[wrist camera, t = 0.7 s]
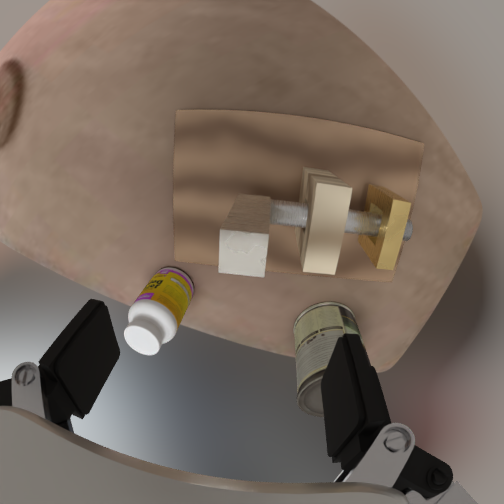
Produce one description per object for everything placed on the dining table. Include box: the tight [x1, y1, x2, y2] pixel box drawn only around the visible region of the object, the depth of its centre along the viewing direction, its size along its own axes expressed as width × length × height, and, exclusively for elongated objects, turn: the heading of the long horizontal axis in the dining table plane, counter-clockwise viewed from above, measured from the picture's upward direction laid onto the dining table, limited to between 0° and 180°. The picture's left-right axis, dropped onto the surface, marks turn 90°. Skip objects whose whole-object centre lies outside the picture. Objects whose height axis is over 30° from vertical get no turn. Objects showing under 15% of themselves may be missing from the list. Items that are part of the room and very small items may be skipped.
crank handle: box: [219, 194, 413, 277], centre depth 22 cm, size 18×3×11 cm, turn 85°
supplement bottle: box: [124, 267, 194, 355], centre depth 34 cm, size 7×7×13 cm
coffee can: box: [294, 302, 371, 417], centre depth 35 cm, size 10×10×14 cm
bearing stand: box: [173, 110, 424, 282], centre depth 28 cm, size 20×31×12 cm, turn 85°
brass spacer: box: [358, 184, 411, 270], centre depth 26 cm, size 7×2×7 cm, turn 175°
